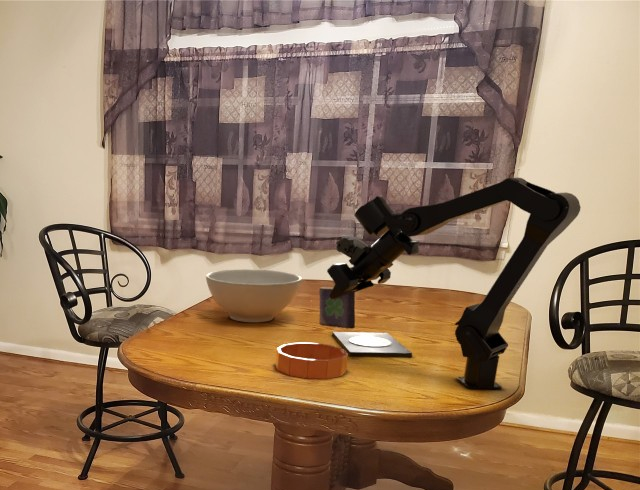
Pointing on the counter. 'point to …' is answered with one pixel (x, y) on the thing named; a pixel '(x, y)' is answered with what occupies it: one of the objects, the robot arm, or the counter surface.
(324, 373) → the orange round tray
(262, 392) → the counter surface
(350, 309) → the flask
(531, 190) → the robot arm
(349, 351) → the hob plate
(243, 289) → the decorative bowl
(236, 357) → the counter surface
